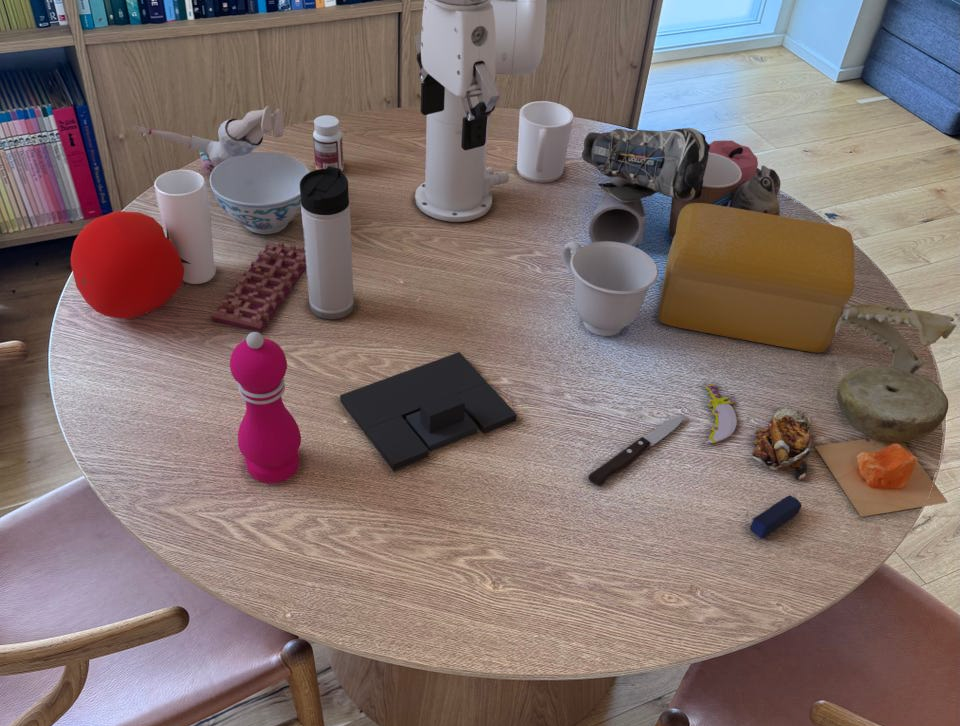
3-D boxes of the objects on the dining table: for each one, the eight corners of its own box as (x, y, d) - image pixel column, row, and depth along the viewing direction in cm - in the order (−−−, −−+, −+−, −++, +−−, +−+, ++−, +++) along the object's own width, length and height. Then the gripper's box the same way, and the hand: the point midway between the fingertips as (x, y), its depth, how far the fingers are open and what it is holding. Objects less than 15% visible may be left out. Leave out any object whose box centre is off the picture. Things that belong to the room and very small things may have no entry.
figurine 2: (701, 198, 139) (754, 148, 137) (725, 239, 156) (772, 195, 154) (739, 237, 136) (794, 186, 134) (759, 274, 154) (808, 230, 151)
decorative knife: (743, 443, 119) (704, 441, 119) (742, 446, 120) (703, 444, 119) (730, 384, 127) (693, 382, 127) (729, 387, 127) (692, 385, 127)
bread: (655, 324, 135) (678, 235, 124) (663, 274, 144) (685, 186, 133) (826, 356, 133) (865, 267, 122) (823, 303, 141) (859, 215, 130)
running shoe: (707, 222, 133) (631, 212, 129) (625, 199, 157) (559, 190, 154) (728, 132, 129) (650, 119, 125) (640, 122, 153) (573, 111, 149)
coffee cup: (694, 262, 147) (713, 193, 138) (645, 232, 151) (660, 163, 143) (734, 240, 152) (755, 172, 143) (686, 211, 156) (703, 144, 148)
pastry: (811, 419, 124) (820, 399, 121) (805, 482, 116) (815, 462, 114) (758, 406, 125) (766, 386, 122) (749, 468, 117) (757, 448, 115)
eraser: (804, 503, 111) (766, 528, 108) (798, 515, 112) (761, 540, 109) (790, 492, 112) (752, 516, 109) (784, 504, 114) (747, 529, 110)
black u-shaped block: (459, 358, 128) (459, 351, 127) (516, 421, 120) (517, 414, 119) (340, 401, 121) (339, 394, 120) (393, 471, 113) (393, 464, 112)
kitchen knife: (600, 483, 112) (588, 474, 113) (599, 488, 113) (587, 479, 114) (691, 415, 122) (678, 407, 123) (689, 421, 122) (677, 413, 123)
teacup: (584, 279, 142) (594, 221, 135) (661, 327, 135) (676, 269, 128) (529, 311, 136) (537, 252, 128) (607, 362, 129) (620, 303, 122)
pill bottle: (326, 158, 161) (323, 111, 155) (349, 166, 160) (347, 119, 153) (309, 169, 158) (305, 122, 152) (332, 178, 157) (329, 130, 151)
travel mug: (362, 298, 135) (357, 171, 121) (342, 324, 131) (335, 196, 116) (322, 287, 136) (313, 161, 122) (302, 313, 132) (289, 185, 117)
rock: (814, 447, 121) (824, 423, 117) (897, 434, 123) (910, 411, 120) (860, 517, 113) (873, 493, 110) (948, 502, 115) (963, 479, 112)
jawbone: (916, 362, 133) (909, 403, 129) (825, 330, 135) (815, 369, 130) (961, 302, 123) (955, 343, 119) (862, 268, 125) (853, 308, 120)
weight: (828, 359, 126) (820, 390, 130) (857, 418, 116) (847, 450, 119) (929, 361, 126) (918, 392, 130) (967, 419, 116) (954, 451, 119)
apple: (754, 194, 162) (771, 140, 154) (736, 216, 157) (752, 161, 149) (703, 176, 165) (718, 122, 158) (683, 197, 160) (697, 142, 152)
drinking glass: (210, 292, 134) (193, 198, 123) (165, 284, 135) (144, 190, 124) (228, 265, 139) (213, 173, 127) (185, 258, 139) (166, 165, 128)
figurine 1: (364, 161, 138) (289, 201, 164) (368, 122, 138) (292, 168, 163) (168, 108, 123) (118, 161, 148) (171, 63, 123) (121, 124, 148)
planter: (583, 140, 161) (591, 203, 142) (633, 143, 162) (648, 207, 142) (577, 183, 167) (585, 251, 147) (626, 186, 167) (640, 254, 147)
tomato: (120, 337, 121) (212, 304, 129) (84, 231, 115) (183, 203, 122) (71, 319, 132) (159, 290, 139) (36, 221, 125) (130, 196, 133)
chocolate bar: (314, 257, 141) (313, 246, 140) (261, 332, 129) (259, 320, 127) (270, 247, 142) (268, 236, 141) (213, 320, 130) (211, 309, 128)
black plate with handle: (452, 404, 122) (454, 380, 119) (477, 433, 118) (479, 408, 115) (405, 422, 119) (406, 398, 116) (429, 452, 116) (430, 428, 112)
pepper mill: (245, 443, 115) (222, 312, 100) (304, 442, 115) (290, 312, 100) (240, 487, 110) (214, 356, 95) (302, 486, 111) (287, 356, 96)
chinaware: (274, 261, 140) (269, 215, 134) (196, 228, 144) (188, 183, 138) (334, 216, 149) (331, 171, 143) (258, 186, 153) (253, 142, 148)
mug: (517, 154, 166) (522, 98, 158) (567, 161, 165) (575, 104, 158) (509, 186, 159) (515, 129, 151) (562, 193, 158) (570, 136, 150)
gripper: (530, 7, 101) (515, 154, 114) (447, -48, 110) (442, 94, 123) (471, 18, 98) (463, 168, 111) (391, -39, 107) (392, 105, 120)
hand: (452, 129), depth 117 cm, fingers open, 9 cm apart
